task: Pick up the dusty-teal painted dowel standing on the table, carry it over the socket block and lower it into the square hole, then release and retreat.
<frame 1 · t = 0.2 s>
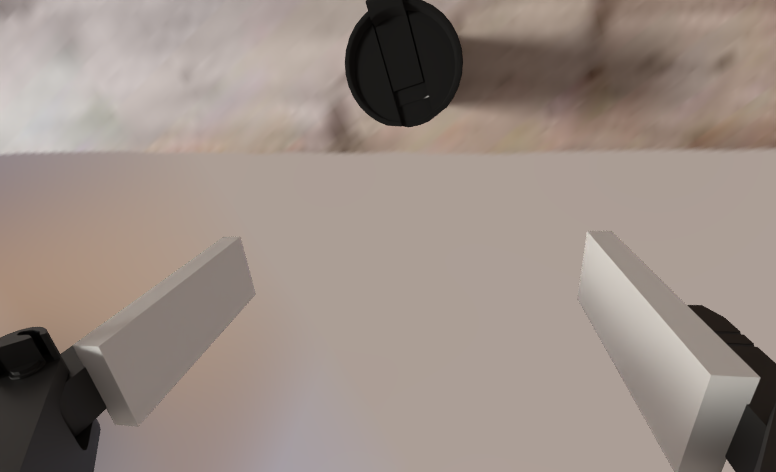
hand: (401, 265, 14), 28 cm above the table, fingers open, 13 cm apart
travel mug: (425, 69, 37), on the table
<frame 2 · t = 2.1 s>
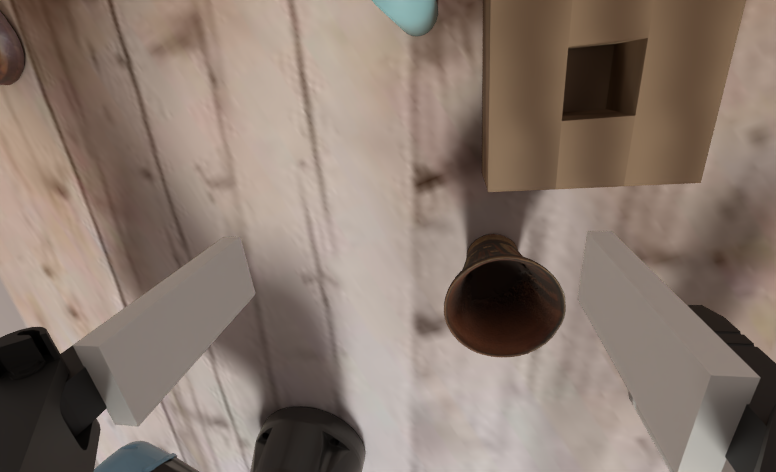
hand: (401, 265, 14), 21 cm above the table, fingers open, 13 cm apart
travel mug: (657, 388, 39), on the table
cup: (490, 255, 36), on the table
socket block: (573, 80, 29), on the table
dowel: (417, 13, 29), on the table
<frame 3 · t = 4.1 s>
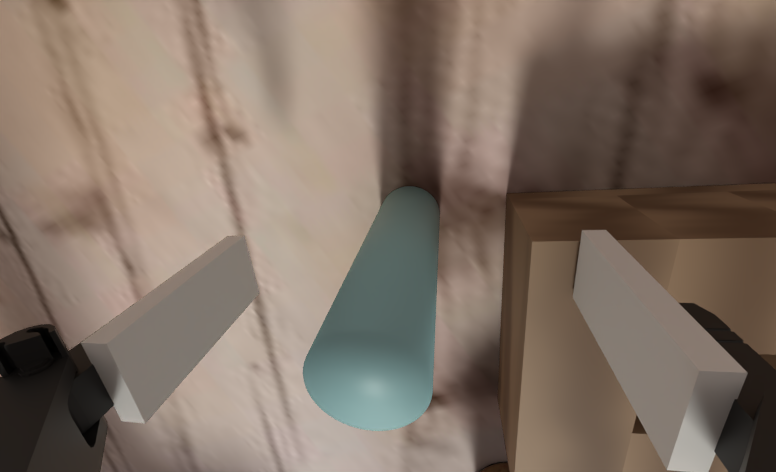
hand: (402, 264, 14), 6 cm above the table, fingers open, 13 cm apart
socket block: (633, 310, 20), on the table
dowel: (409, 214, 20), on the table
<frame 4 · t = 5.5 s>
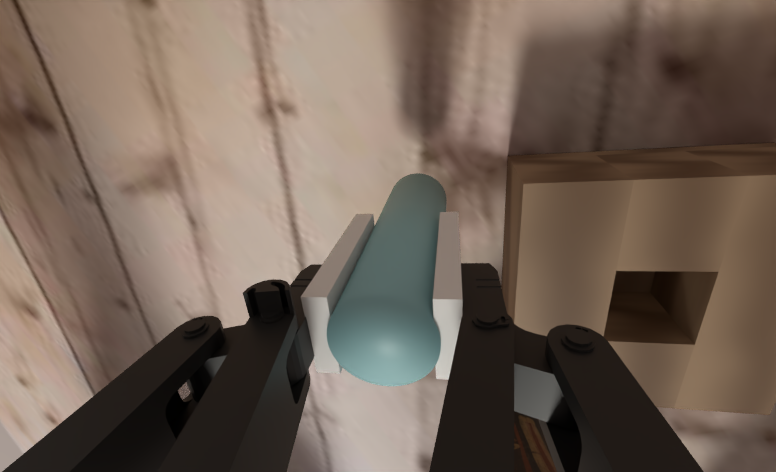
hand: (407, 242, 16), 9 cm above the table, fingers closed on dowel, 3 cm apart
cup: (506, 409, 32), on the table
socket block: (612, 255, 24), on the table
dowel: (418, 200, 21), point 4 cm above the table, touching gripper
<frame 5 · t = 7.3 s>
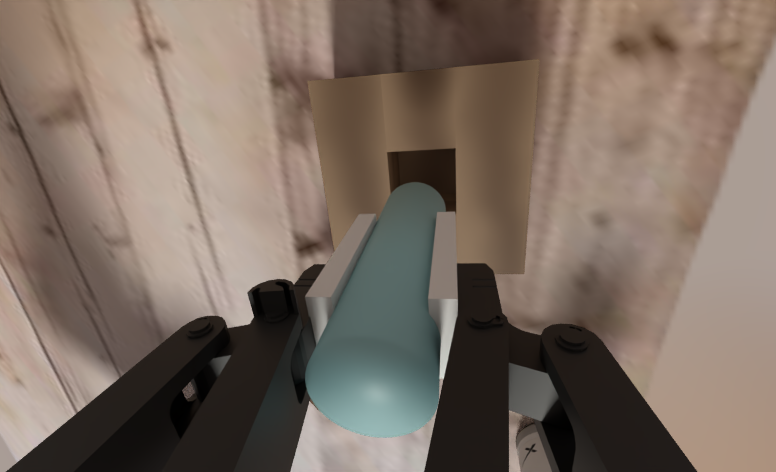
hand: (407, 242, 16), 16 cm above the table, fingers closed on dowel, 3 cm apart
travel mug: (542, 439, 41), on the table
socket block: (427, 163, 30), on the table
dowel: (415, 211, 19), point 12 cm above the table, touching gripper
when the fingers open (7 cm above the table, at t = 9.3 s): dowel drops 2 cm, resting on socket block.
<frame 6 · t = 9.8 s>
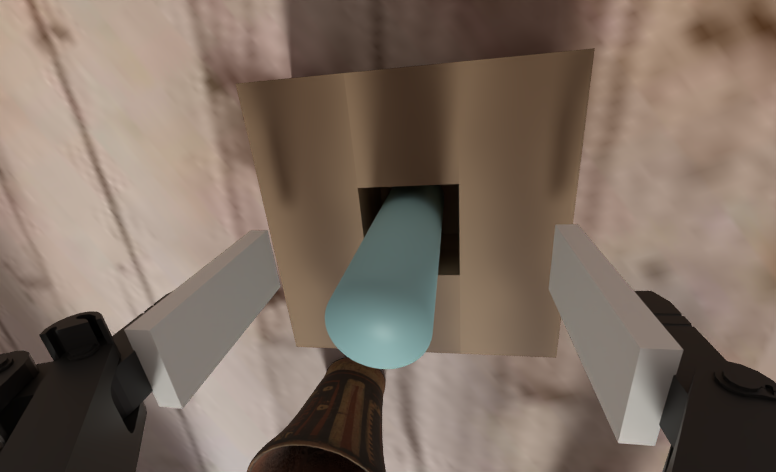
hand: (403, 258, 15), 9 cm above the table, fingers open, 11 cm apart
cup: (355, 377, 30), on the table
socket block: (420, 194, 22), on the table
dowel: (416, 199, 21), point 1 cm above the table, touching socket block
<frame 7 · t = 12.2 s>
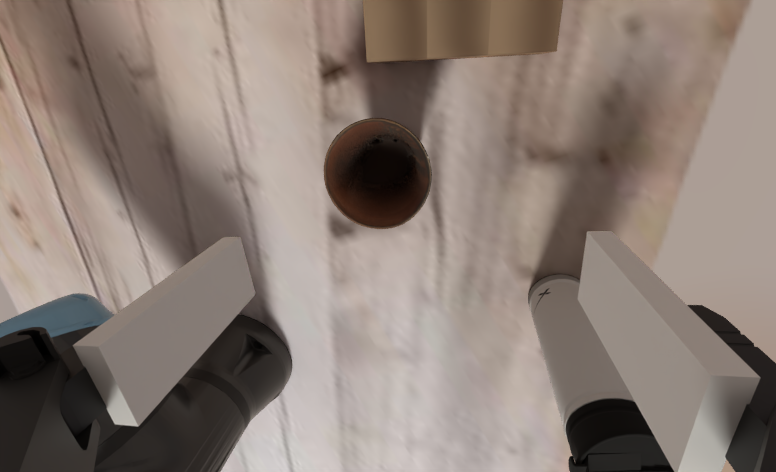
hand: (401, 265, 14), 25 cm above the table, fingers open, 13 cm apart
travel mug: (555, 296, 41), on the table
cup: (395, 152, 38), on the table
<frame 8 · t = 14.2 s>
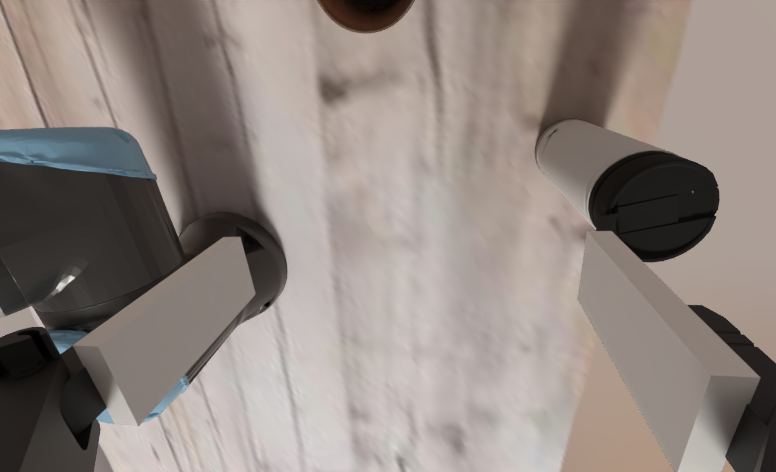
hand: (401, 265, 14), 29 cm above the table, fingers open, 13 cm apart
travel mug: (563, 149, 38), on the table
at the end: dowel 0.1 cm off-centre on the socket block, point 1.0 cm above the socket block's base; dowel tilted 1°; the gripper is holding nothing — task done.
